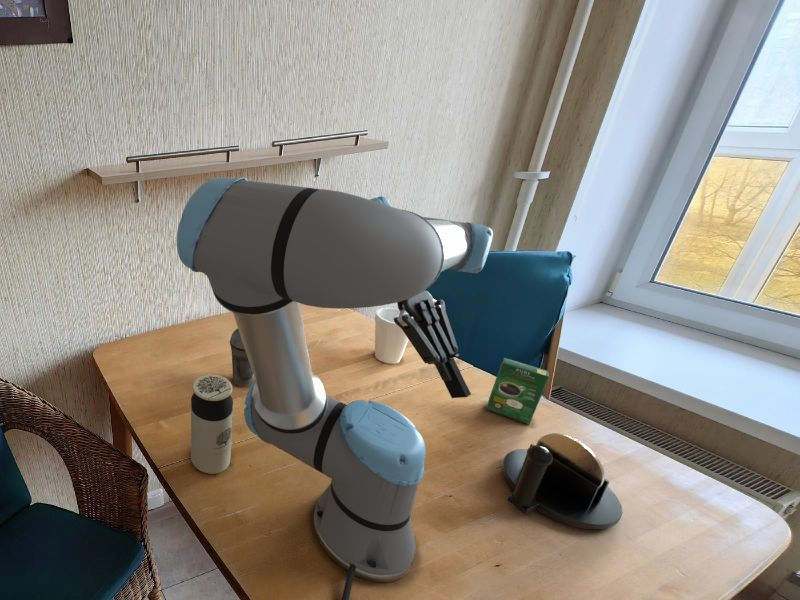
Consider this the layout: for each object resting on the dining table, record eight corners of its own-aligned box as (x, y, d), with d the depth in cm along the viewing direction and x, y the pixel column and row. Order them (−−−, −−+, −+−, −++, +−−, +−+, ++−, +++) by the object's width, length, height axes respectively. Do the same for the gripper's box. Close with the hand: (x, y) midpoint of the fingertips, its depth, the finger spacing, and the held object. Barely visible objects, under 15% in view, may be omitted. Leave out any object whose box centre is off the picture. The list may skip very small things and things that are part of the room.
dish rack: (569, 551, 66) (597, 491, 62) (468, 472, 81) (485, 418, 76) (642, 510, 73) (673, 452, 68) (536, 443, 87) (556, 392, 82)
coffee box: (531, 419, 95) (549, 369, 90) (531, 426, 93) (549, 376, 88) (487, 403, 100) (502, 356, 95) (485, 410, 98) (501, 361, 93)
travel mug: (184, 451, 89) (184, 379, 82) (217, 439, 91) (219, 369, 85) (202, 480, 82) (203, 405, 75) (237, 466, 85) (242, 392, 78)
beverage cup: (256, 391, 106) (261, 321, 99) (227, 388, 107) (230, 318, 100) (256, 374, 112) (261, 306, 105) (228, 371, 114) (231, 304, 107)
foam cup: (408, 353, 119) (417, 312, 115) (405, 371, 112) (414, 327, 107) (371, 344, 124) (378, 304, 119) (366, 360, 117) (373, 318, 112)
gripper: (398, 275, 75) (463, 407, 70) (438, 261, 81) (501, 382, 76) (364, 287, 82) (421, 410, 76) (404, 273, 88) (459, 386, 82)
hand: (461, 396), depth 76 cm, fingers closed
